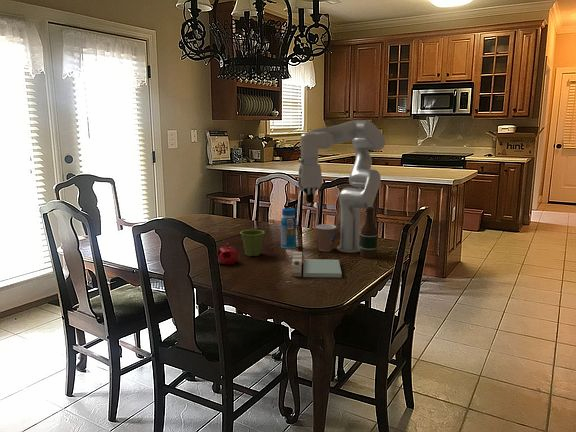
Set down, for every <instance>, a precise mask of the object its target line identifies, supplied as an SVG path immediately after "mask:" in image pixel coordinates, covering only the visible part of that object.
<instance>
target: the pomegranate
mask: <svg viewBox="0 0 576 432" xmlns="http://www.w3.org/2000/svg"><path fill="white" fill-rule="evenodd" d="M233 247H236V245H235V246H234V245H232V246H230V244H229V243H226V245H223V246H221V247H219V249H218V250H217V252H216V254H217V253H218V259H219V262H218V263H220V264H221V265H222V264H223V265H227V266H229V265H234V264H235V263H237V262H238V260H239V253H238V251H237V250H236V249H235V248H233ZM218 259H217V260H218Z"/></svg>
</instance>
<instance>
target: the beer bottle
mask: <svg viewBox="0 0 576 432" xmlns="http://www.w3.org/2000/svg"><path fill="white" fill-rule="evenodd" d="M365 210H366V211H365V212H366V214H365V220H364V221H365V223H364V225H363V226H362V228H361V229H360V230H361V231H360V243H359V246H360V252H359V253H360V255H359V256H360V258H362V257H363V258H362V259H367V260H368V259H369V260H370V259H375V258H376V257H377V252H378V251H377V250H378V230H377V226H376V225H375V223H374V222H375V221H374V211H375V208H374V207H372V206H371V207H367V208H366V209H365Z"/></svg>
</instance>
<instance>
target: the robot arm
mask: <svg viewBox="0 0 576 432" xmlns="http://www.w3.org/2000/svg"><path fill="white" fill-rule="evenodd" d="M348 141H351V142H352V146H353V149H354V154H355V161H354V163H353V167H352V169H351V171H350V174H349V177H348V183H349V185H351V186H352V187H344V188H342V189H341V191H340V192H339V195H338V198H339V205H340V232H339V233H340V234H339V235H340V236H339V237H340V239H339V240H340V241H339V242H340V243H339V245H337V247H336V250H337V251H339V252H342V253H350V254H351V253H352V254H355V253H360V232H361V231H360V230H361V229H360V226H361V222H360V221H361V214H360V211H359V209H362V210H364V209H365V210H366V208H367V207H372V206H373V205H374V203H375V202H374V201H375V199H376V196H377V194H378V190H379V188H380V185H381V174H380V172H379V171H378V170H377V169H373V168H372V163H373V159H372V156H371V154H370V152H369V151H374V152H376V151H377V152H378V151H381V150H382V149H384V147H385V145H386V139H385V136H384V134H383V133H382V132H381V130H379V128H378V127H377V125H375V124H374V123H373V122H372V121H370V120H365V119H364V120H362V119H361V120H360V119H359V120H357V119H356V120H355V119H354V120H349V121H346V122H344V123H340V124H335V125H330V126H325V127H320V128H316V129H312V130H309V131H307V132H305V133H302V134H301V136H300V158H299V160H298V163H299V164H300V165H299V168H298V177H297V178H298V179H297V184H298V191H301V192H304V194H305V201H306V203H307V204H314V199H315V198H314V194H316V193H315V192H317V190H320V189H321V186H323V176H322V175H323V174H322V169H321V168H322V167H321V164H319V150H327V149H330V148H331V147H332V146H333V145H334V144H343V143H345V142H348Z"/></svg>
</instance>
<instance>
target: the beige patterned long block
mask: <svg viewBox="0 0 576 432" xmlns="http://www.w3.org/2000/svg"><path fill="white" fill-rule="evenodd" d="M302 270H303V251H293V252H292V260H291V277H302V274H303V272H302Z"/></svg>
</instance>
